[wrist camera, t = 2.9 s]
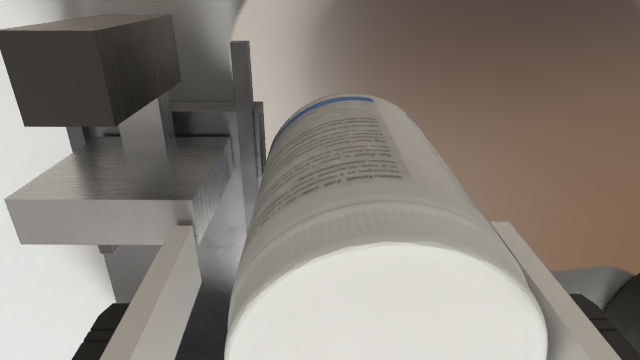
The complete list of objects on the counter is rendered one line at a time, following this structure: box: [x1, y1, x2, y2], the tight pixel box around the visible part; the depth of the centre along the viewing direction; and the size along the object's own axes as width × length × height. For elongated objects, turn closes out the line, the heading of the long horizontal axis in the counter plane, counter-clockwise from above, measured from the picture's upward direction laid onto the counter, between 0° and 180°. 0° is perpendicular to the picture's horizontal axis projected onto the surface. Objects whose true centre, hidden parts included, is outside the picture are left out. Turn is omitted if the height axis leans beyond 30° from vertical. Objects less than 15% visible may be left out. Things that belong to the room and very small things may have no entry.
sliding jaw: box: [0, 15, 233, 245], centre depth 17 cm, size 7×8×8 cm
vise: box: [66, 41, 266, 360], centre depth 23 cm, size 10×24×9 cm, turn 0°
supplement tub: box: [224, 93, 548, 360], centre depth 18 cm, size 10×10×15 cm
